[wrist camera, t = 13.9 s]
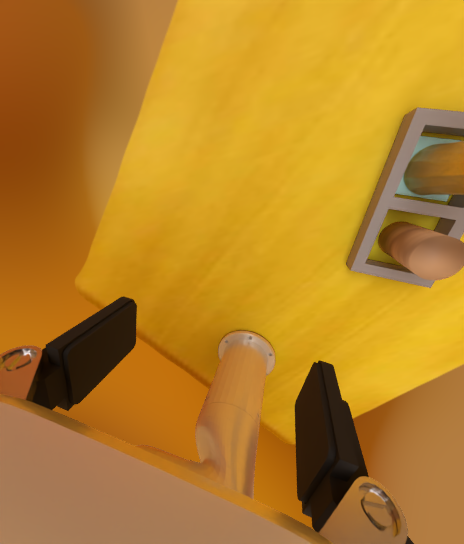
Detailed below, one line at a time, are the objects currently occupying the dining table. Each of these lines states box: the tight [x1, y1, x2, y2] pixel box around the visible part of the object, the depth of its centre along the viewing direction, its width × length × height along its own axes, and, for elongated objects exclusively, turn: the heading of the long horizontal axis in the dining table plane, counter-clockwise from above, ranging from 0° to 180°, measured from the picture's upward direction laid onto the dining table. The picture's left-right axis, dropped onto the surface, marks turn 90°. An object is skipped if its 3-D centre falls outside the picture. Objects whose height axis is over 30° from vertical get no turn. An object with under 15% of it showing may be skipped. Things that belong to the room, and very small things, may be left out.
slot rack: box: [346, 108, 464, 288], centre depth 29 cm, size 20×11×3 cm, turn 171°
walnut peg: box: [378, 222, 464, 280], centre depth 28 cm, size 5×5×10 cm
